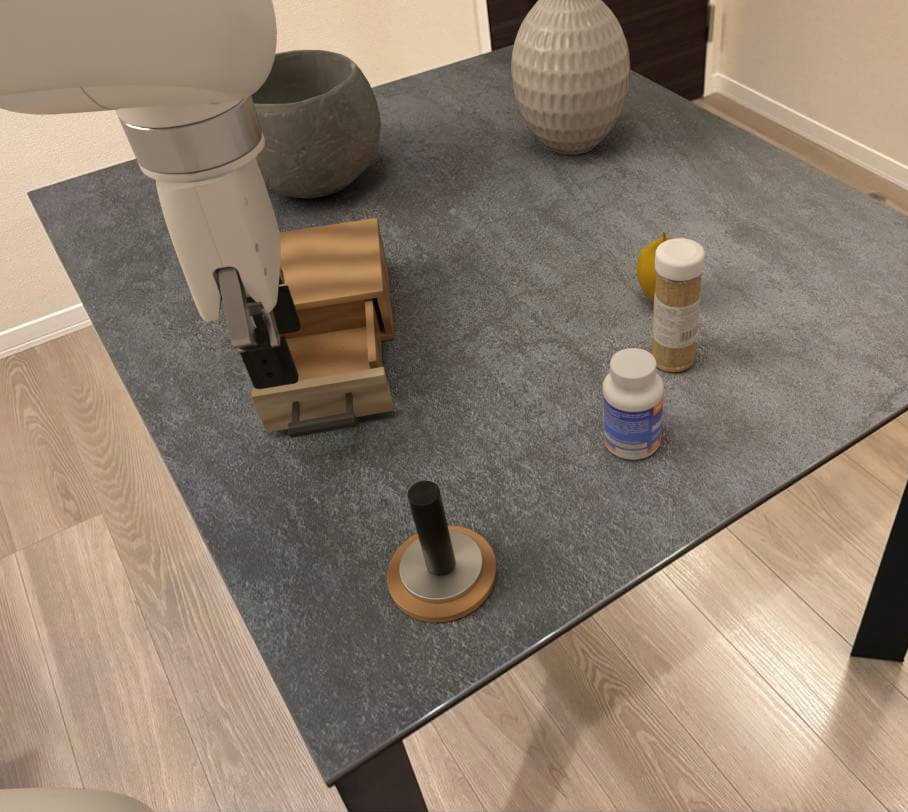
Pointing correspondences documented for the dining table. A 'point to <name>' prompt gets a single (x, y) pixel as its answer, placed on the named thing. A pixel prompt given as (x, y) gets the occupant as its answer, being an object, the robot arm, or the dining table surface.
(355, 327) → the drawer
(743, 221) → the dining table surface
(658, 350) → the sprinkles bottle
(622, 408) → the pill bottle
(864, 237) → the dining table surface
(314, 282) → the cabinet
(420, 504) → the rod on disc base
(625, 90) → the vase
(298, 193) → the bowl
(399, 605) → the disc
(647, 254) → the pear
